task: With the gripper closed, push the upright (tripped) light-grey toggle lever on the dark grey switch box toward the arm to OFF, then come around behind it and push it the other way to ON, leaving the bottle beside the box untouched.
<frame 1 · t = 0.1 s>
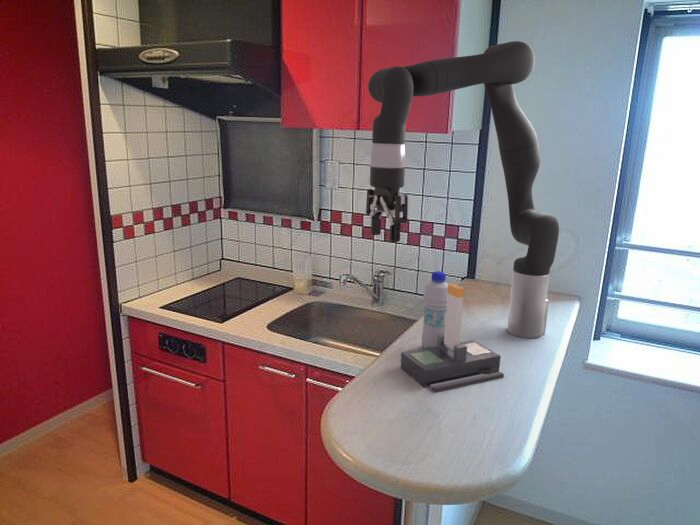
hand: (384, 238, 118), 29 cm above the countertop, fingers open, 8 cm apart
lever: (453, 318, 117), point 12 cm above the countertop, hinge at 0.0°
switch box: (449, 370, 120), on the countertop
dark grey bar: (467, 382, 114), on the countertop
bottle: (433, 349, 132), on the countertop
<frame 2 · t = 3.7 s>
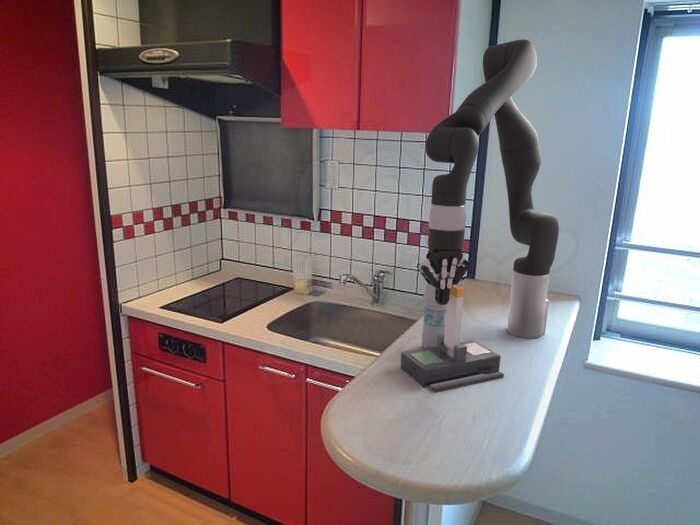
hand: (441, 303, 114), 16 cm above the countertop, fingers closed
lever: (453, 318, 117), point 12 cm above the countertop, hinge at 0.0°, touching gripper
everything else where it was.
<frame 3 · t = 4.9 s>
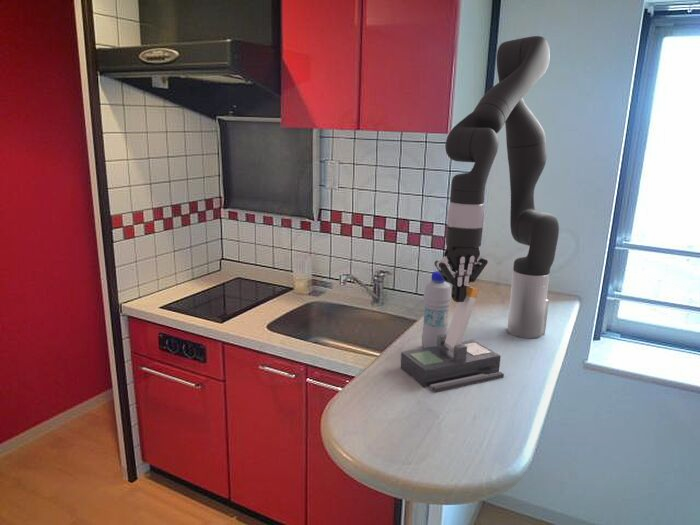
hand: (458, 301, 116), 16 cm above the countertop, fingers closed
lever: (460, 318, 118), point 12 cm above the countertop, hinge at -16.2°, touching gripper
everything else where it was.
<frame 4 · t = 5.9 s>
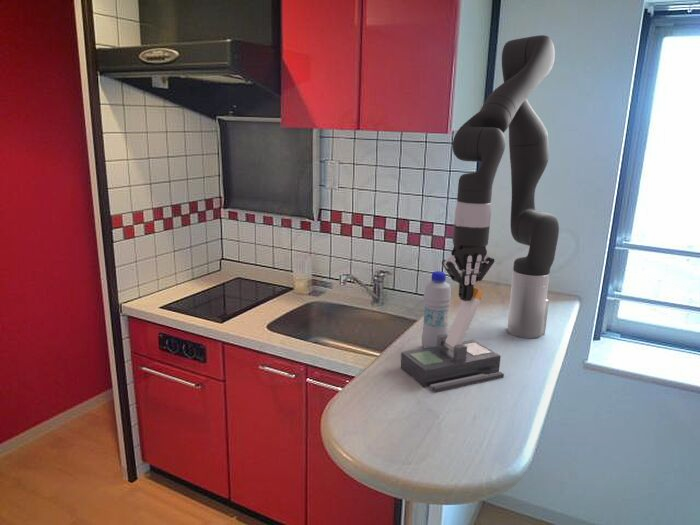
hand: (465, 299, 117), 17 cm above the countertop, fingers closed
lever: (463, 319, 118), point 12 cm above the countertop, hinge at -22.7°, touching gripper
everything else where it was.
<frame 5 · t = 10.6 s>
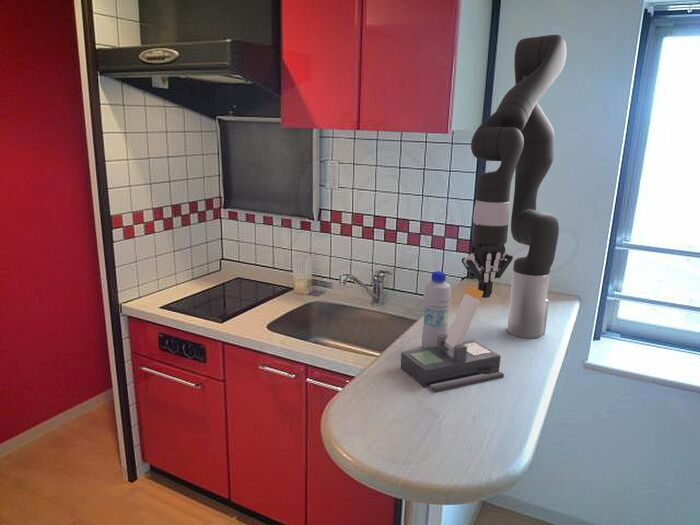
hand: (484, 296, 119), 17 cm above the countertop, fingers closed
lever: (463, 319, 118), point 12 cm above the countertop, hinge at -22.4°, touching gripper
everything else where it was.
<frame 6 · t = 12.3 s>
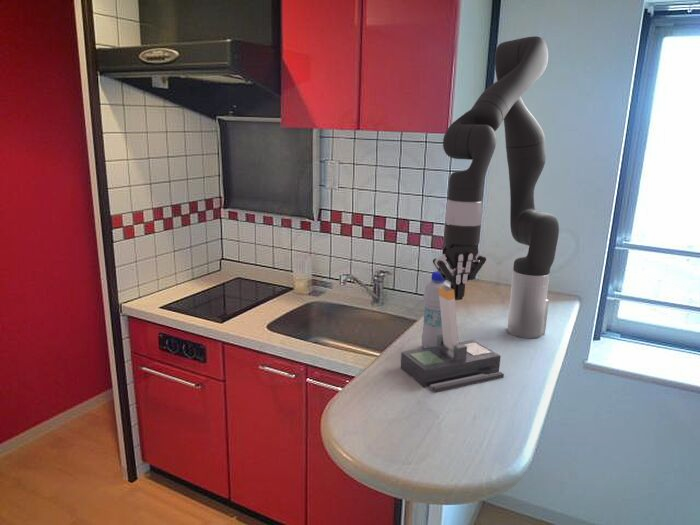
hand: (456, 299, 116), 17 cm above the countertop, fingers closed
lever: (448, 319, 116), point 12 cm above the countertop, hinge at 10.2°, touching gripper
everything else where it was.
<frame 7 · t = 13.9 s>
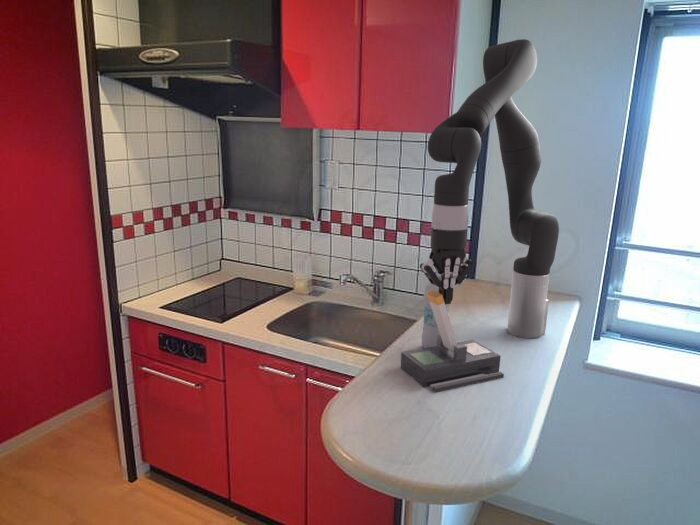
hand: (445, 303, 115), 16 cm above the countertop, fingers closed
lever: (443, 322, 116), point 12 cm above the countertop, hinge at 22.5°, touching gripper
everything else where it was.
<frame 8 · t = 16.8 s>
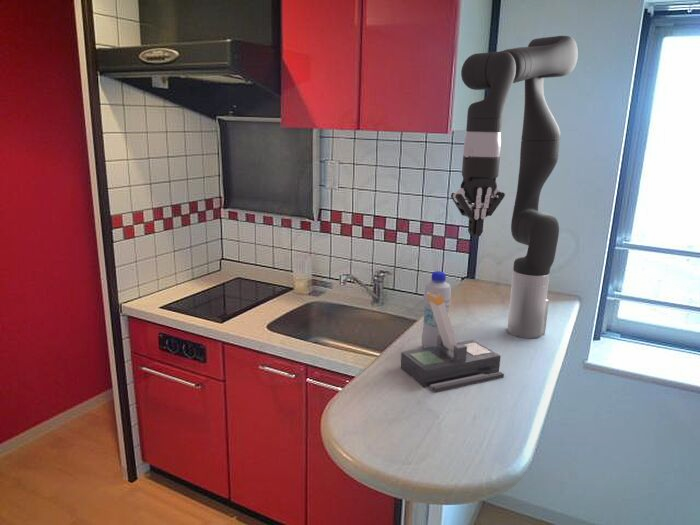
hand: (474, 235, 114), 31 cm above the countertop, fingers closed
lever: (443, 322, 116), point 12 cm above the countertop, hinge at 22.7°
everything else where it was.
at the end: lever at +23° (first picture: +0°); bottle moved 0.2 cm from its start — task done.
